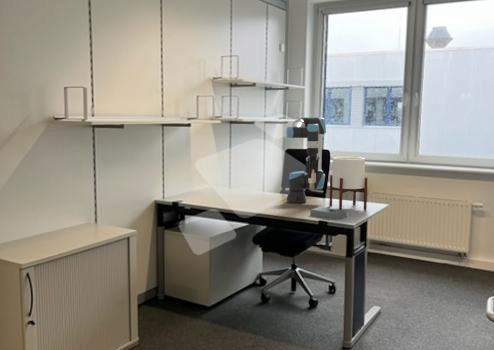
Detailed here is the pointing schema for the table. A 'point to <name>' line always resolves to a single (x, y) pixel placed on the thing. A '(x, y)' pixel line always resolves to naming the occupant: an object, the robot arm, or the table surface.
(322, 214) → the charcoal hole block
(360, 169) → the plant pot with stand
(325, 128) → the robot arm
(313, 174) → the brass peg
